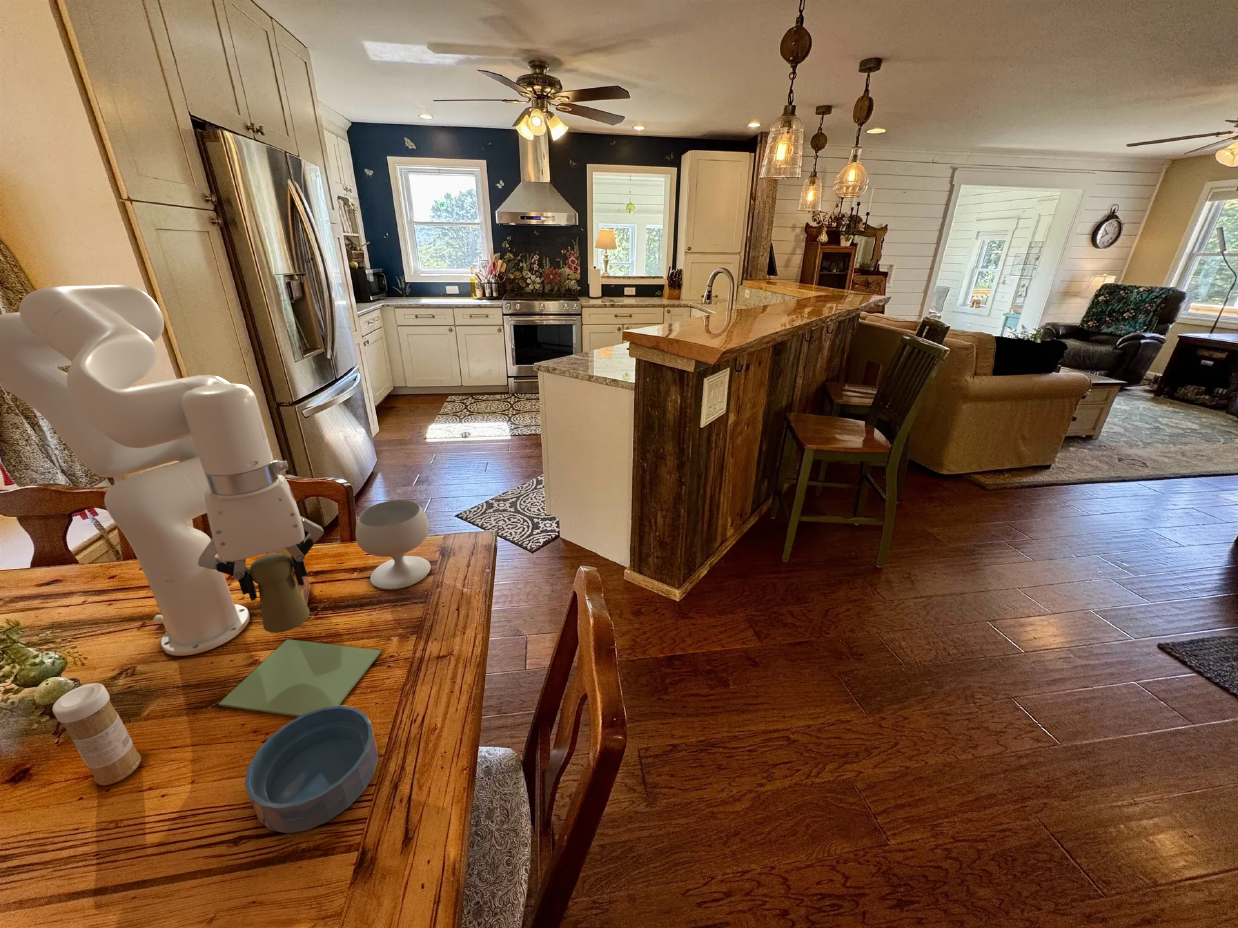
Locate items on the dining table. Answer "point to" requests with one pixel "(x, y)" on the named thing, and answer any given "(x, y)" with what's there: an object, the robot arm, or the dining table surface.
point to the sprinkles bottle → (97, 733)
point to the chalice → (394, 542)
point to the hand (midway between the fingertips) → (277, 586)
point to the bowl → (312, 768)
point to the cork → (278, 593)
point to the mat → (302, 678)
